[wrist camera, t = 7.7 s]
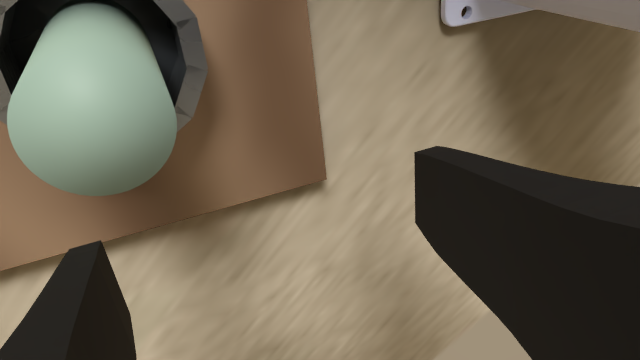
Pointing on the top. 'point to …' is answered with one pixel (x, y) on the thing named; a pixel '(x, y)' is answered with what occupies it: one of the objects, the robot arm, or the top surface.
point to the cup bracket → (178, 122)
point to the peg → (92, 103)
